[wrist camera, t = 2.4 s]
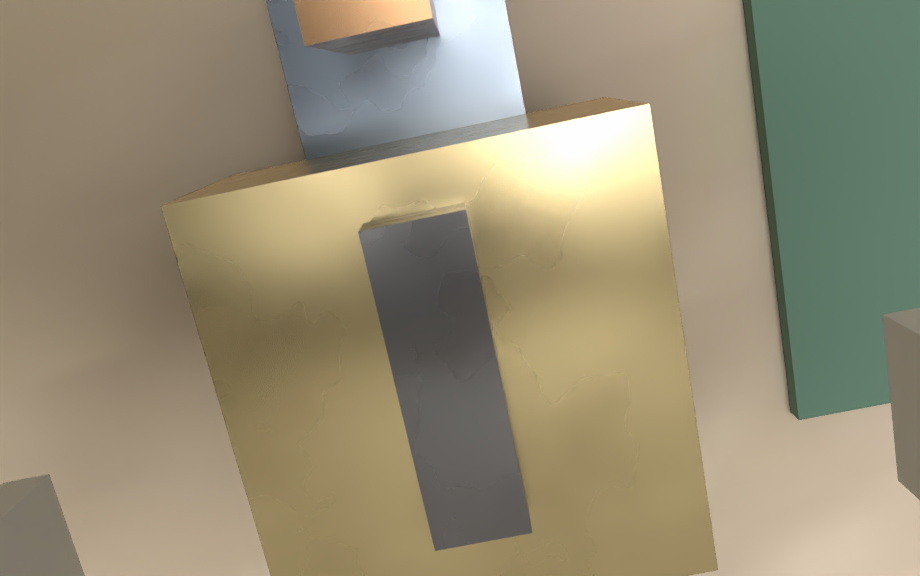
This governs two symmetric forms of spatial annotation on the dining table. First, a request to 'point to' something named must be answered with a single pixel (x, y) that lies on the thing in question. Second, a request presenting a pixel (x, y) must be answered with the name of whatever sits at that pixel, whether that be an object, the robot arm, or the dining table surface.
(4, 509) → the robot arm
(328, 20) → the knobbed metal bar
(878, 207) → the felt pad
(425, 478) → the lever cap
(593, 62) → the dining table surface
